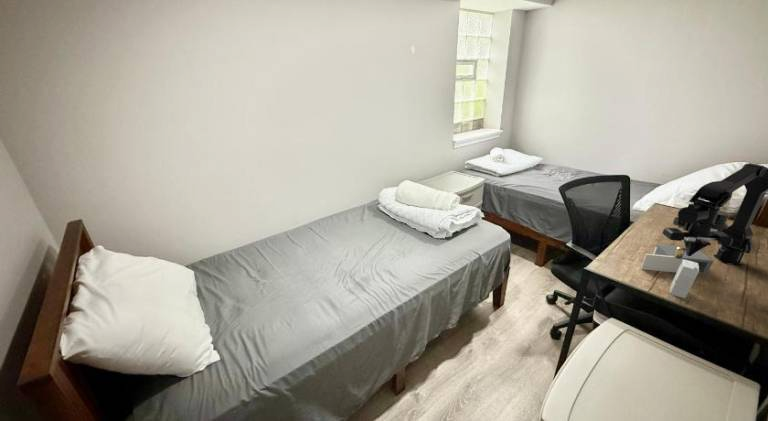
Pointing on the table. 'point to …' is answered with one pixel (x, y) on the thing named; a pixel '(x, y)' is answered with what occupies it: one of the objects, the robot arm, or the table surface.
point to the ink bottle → (721, 221)
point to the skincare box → (684, 278)
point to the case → (687, 257)
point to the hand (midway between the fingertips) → (688, 255)
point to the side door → (663, 261)
